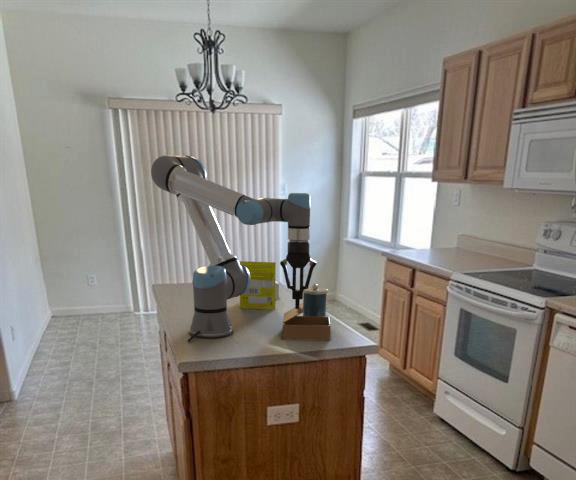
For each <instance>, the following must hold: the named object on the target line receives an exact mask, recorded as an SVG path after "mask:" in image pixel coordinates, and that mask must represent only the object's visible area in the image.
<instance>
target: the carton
mask: <svg viewBox="0 0 576 480" xmlns="http://www.w3.org/2000/svg"><path fill="white" fill-rule="evenodd" d="M282 339H283V340H284V339H285V340H317V341H318V340H320V341H321V340H322V341H330V340H331V321H330V316H326V317H318V316H303V315H298V316H296V317H294V318H292V319H290V320H289V321H287V322H285V323H283V322H282Z"/></svg>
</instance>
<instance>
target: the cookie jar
mask: <svg viewBox="0 0 576 480" xmlns="http://www.w3.org/2000/svg"><path fill="white" fill-rule="evenodd" d="M328 292H329V289H328V288H326V287H323V286H319V284H317V283H313V284H312V286H309V287H308V289H305V290H303V299H302V303H304V312H303V313H302V316H318V317H327V300H328Z"/></svg>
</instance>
